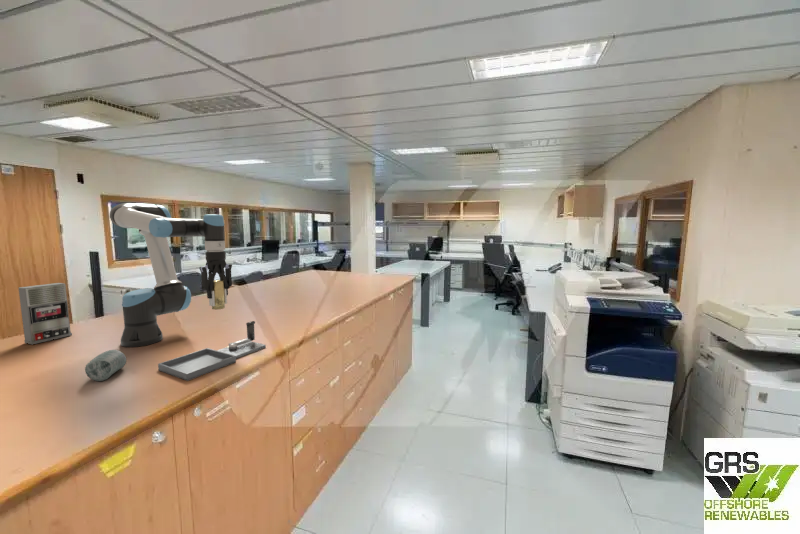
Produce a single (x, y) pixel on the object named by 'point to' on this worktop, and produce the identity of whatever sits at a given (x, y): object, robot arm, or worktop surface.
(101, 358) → the spool
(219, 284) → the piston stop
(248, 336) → the crank lever
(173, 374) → the tray
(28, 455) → the worktop surface
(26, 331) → the cassette tape recorder
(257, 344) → the crank plate
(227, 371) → the worktop surface
